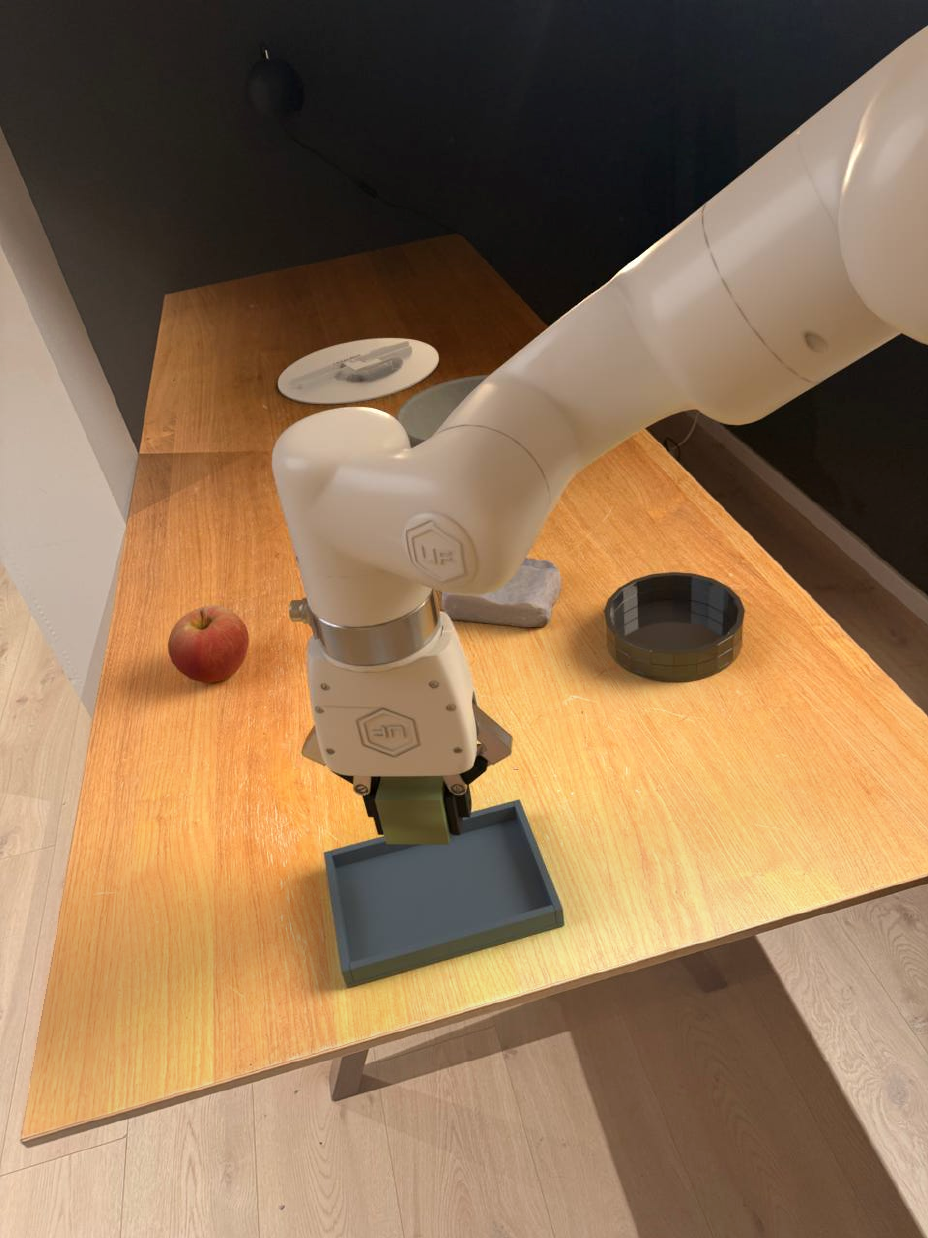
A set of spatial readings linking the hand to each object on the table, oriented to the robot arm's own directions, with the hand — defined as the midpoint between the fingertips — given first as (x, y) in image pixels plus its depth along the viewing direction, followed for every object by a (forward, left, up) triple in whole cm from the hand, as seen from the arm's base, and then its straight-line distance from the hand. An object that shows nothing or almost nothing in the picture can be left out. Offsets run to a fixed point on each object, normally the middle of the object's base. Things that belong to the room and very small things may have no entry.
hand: (422, 818), depth 68 cm
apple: (+37, -11, -9) cm, 40 cm away
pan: (-1, -36, -9) cm, 37 cm away
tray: (0, 0, -9) cm, 9 cm away
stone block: (+17, -35, -9) cm, 40 cm away
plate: (+79, -80, -9) cm, 113 cm away
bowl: (+37, -58, -9) cm, 69 cm away
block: (0, 0, 0) cm, 0 cm away
